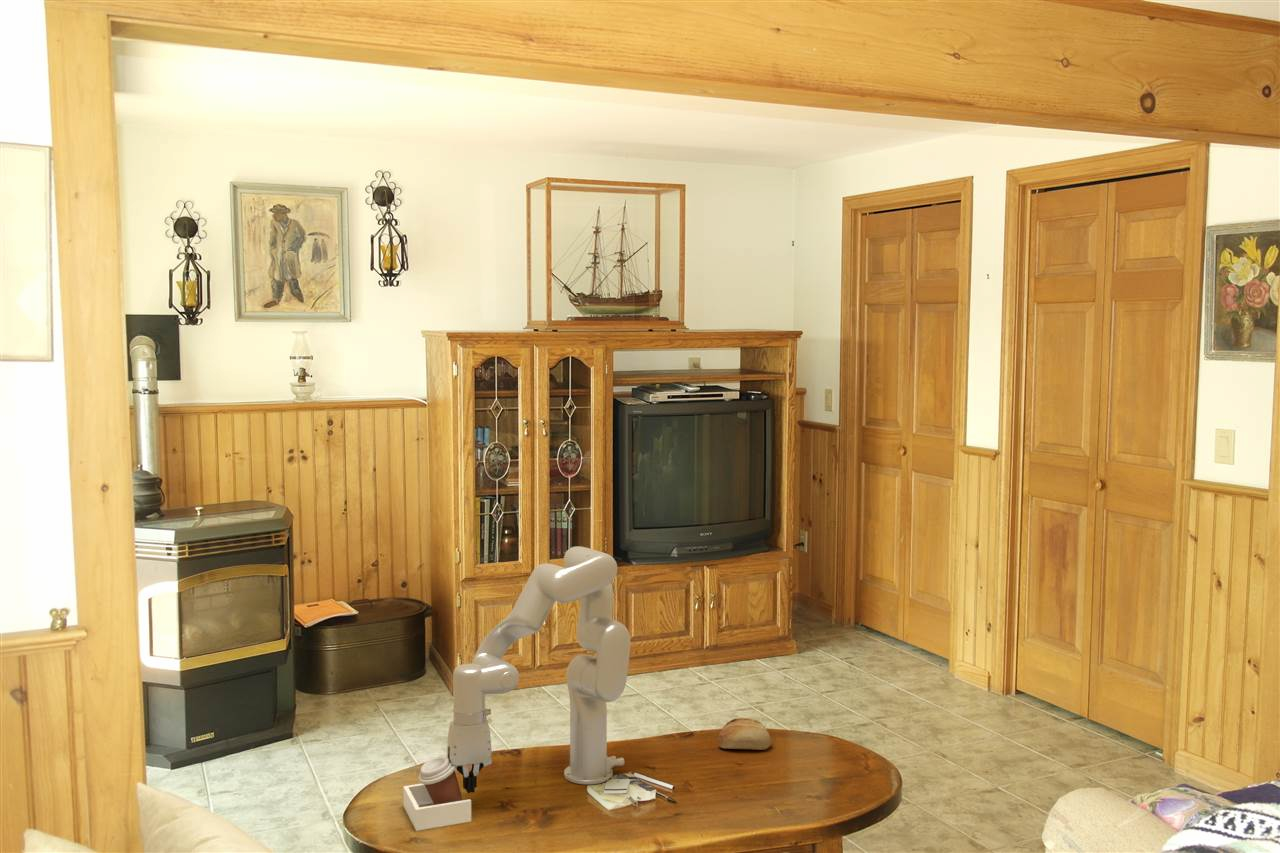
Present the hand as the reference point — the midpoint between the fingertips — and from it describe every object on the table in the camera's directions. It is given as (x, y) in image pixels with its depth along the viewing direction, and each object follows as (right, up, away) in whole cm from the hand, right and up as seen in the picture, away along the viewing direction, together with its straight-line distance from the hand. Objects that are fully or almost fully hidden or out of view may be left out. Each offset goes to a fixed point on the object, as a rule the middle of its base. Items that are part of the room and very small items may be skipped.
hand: (469, 790), depth 266 cm
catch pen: (-8, -5, -3) cm, 10 cm away
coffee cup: (-4, -4, -1) cm, 6 cm away
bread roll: (+70, -2, +41) cm, 81 cm away
